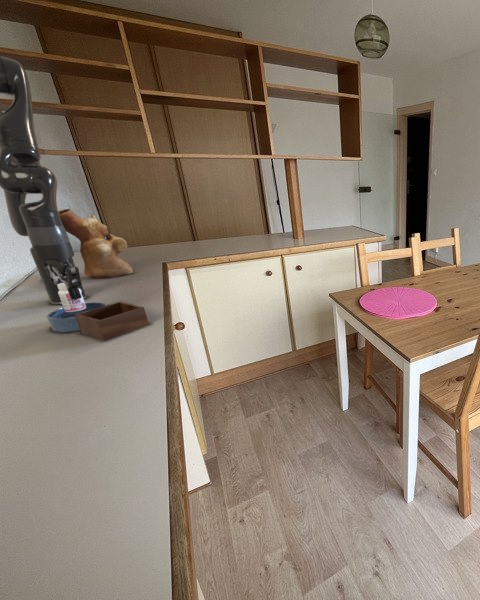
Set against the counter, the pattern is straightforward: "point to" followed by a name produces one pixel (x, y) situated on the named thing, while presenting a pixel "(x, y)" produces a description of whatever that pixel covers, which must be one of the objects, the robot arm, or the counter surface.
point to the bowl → (68, 318)
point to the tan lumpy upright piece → (96, 246)
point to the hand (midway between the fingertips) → (71, 297)
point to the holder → (112, 320)
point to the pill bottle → (70, 300)
